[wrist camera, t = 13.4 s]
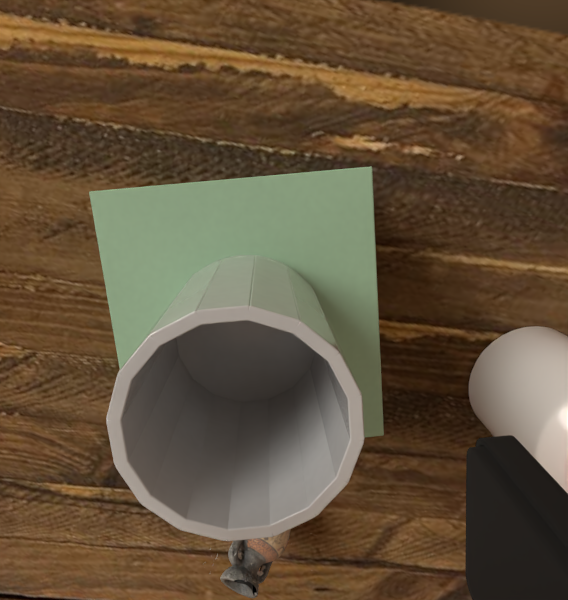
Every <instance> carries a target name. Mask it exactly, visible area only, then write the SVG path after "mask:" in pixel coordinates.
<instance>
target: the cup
mask: <svg viewBox="0 0 568 600" xmlns="http://www.w3.org/2000/svg"><path fill="white" fill-rule="evenodd" d="M106 418H107V420H106V422H107V428H108V433H109V438H110V444H111V449H112V455H113V460H114V464H115V467H116V468H117V470H118V471H119V473H120V474H121V476H122V477H123V479H124V480H125V481H126V483H127V484H128V486H129V487H130V489H131V490H132V492H133V493H134V495H135V496H136V498H137V499H138V501H139V502H140V503H141V504H142V505H143V506H145V507H146V508H148V509H149V510H151V511H152V512H154V513H155V514H157V515H158V516H160V517H161V518H163V519H164V520H165V521H167V522H168V523H170V524H171V525H173V526H174V527H176V528H177V529H179V530H180V529H181V531H185V532H189V533H193V534H198V535H202V536H206V537H210V538H214V539H218V540H222V541H226V540H227V541H237V540H247V539H257V538H267V537H273V536H277V535H279V534H281V533H283V532H285V531H287V530H289V529H291V528H293V527H296V526H298V525H300V524H302V523H304V522H306V521H308V520H310V519H312V518H315V517H316V516H317V515H318V514H319V513H320V512H321V511H322V510H323V509H324V508H325V507H326V506H327V505H328V504H329V503H330V502H331V501H332V500H333V499H334V498H335V497H336V496H337V495H338V494H339V492H340V491H341V490H342V489H343V488H344V487H345V486H346V485H347V484H348V482H349V480H350V477H351V475H352V472H353V470H354V467H355V464H356V462H357V459H358V457H359V454H360V451H361V449H362V446H363V444H364V439H365V436H364V417H363V399H362V394H361V391H360V389H359V386H358V384H357V382H356V380H355V377H354V375H353V373H352V371H351V369H350V366H349V364H348V362H347V360H346V357H345V355H344V353H343V351H342V348H341V346H340V344H339V342H338V340H337V337H336V335H335V333H334V331H333V328H332V326H331V324H330V322H329V319H328V317H327V315H326V313H325V311H324V309H323V307H322V305H321V303H320V301H319V299H318V297H317V295H316V293H315V291H314V290H313V288H312V286H311V285H310V284H309V283H308V282H307V281H306V280H305V279H304V278H303V277H302V276H301V275H300V274H299V273H298V272H296V271H295V270H294V269H292V268H291V267H289V266H287V265H285V264H284V263H282V262H280V261H277V260H274V259H272V258H268V257H264V256H258V255H236V256H230V257H226V258H223V259H219V260H217V261H215V262H213V263H210V264H208V265H207V266H205V267H204V268H202V269H200V270H199V271H198V272H196V273H194V274H193V275H192V276H191V278H190V279H189V280H188V281H187V282H186V284H185V285H184V286H183V287H182V289H181V290H180V291H179V292H178V294H177V295H176V296H175V297H174V299H173V300H172V301H171V303H170V304H169V305H168V307H167V308H166V309H165V311H164V312H163V313H162V315H161V316H160V317H159V319H158V320H157V321H156V323H155V324H154V325H153V327H152V328H151V329H150V331H149V332H148V333H147V335H146V336H145V337H144V339H143V340H142V341H141V343H140V344H139V345H138V347H137V348H136V349H135V351H134V352H133V353H132V355H131V356H130V357H129V359H128V360H127V361H126V363H125V364H124V365H123V367H122V368H121V369H120V371H119V373H118V374H117V378H116V382H115V386H114V390H113V394H112V397H111V401H110V405H109V409H108V413H107V417H106Z"/></svg>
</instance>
